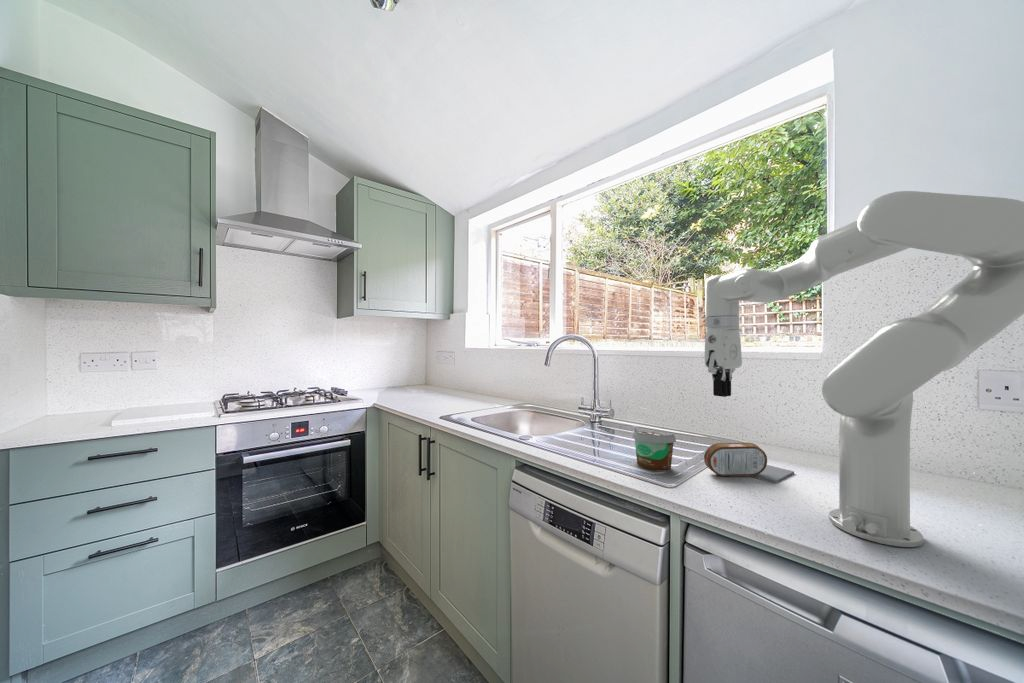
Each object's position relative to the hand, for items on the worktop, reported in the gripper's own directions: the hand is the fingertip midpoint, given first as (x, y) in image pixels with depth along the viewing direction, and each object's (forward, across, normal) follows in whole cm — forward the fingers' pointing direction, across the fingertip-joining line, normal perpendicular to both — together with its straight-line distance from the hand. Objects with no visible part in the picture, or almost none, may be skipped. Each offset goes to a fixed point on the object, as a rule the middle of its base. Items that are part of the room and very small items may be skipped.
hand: (722, 395), depth 93 cm
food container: (+22, -6, +17) cm, 29 cm away
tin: (+22, +7, 0) cm, 23 cm away
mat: (+22, +16, 0) cm, 27 cm away
